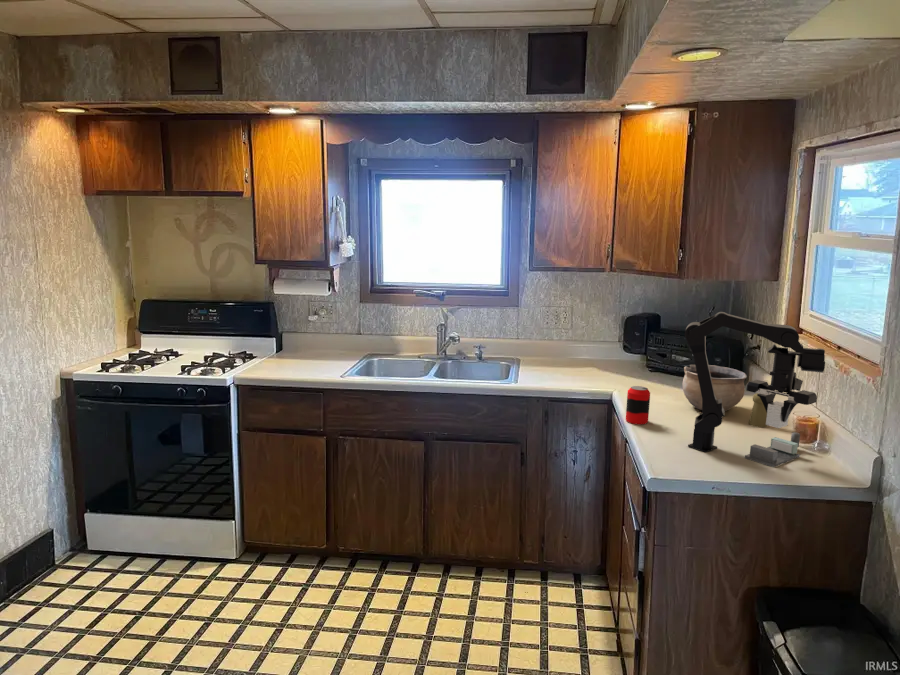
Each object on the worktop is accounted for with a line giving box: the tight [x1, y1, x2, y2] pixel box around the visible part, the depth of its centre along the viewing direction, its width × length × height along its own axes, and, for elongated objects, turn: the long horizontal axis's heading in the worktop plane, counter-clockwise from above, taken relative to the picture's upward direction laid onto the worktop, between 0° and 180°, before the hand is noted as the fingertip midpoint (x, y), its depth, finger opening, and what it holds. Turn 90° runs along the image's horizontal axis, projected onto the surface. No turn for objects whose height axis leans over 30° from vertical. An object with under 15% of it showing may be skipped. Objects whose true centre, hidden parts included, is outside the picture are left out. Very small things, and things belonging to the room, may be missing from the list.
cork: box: [748, 392, 769, 428], centre depth 236 cm, size 6×6×11 cm
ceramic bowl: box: [682, 364, 748, 412], centre depth 253 cm, size 22×22×15 cm
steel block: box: [766, 400, 789, 429], centre depth 202 cm, size 5×4×6 cm
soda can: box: [625, 385, 651, 426], centre depth 237 cm, size 8×8×12 cm
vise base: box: [744, 444, 801, 468], centre depth 204 cm, size 15×9×4 cm, turn 127°
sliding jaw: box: [769, 432, 801, 454], centre depth 210 cm, size 9×7×4 cm
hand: (777, 419), depth 203 cm, fingers closed on steel block, 4 cm apart
